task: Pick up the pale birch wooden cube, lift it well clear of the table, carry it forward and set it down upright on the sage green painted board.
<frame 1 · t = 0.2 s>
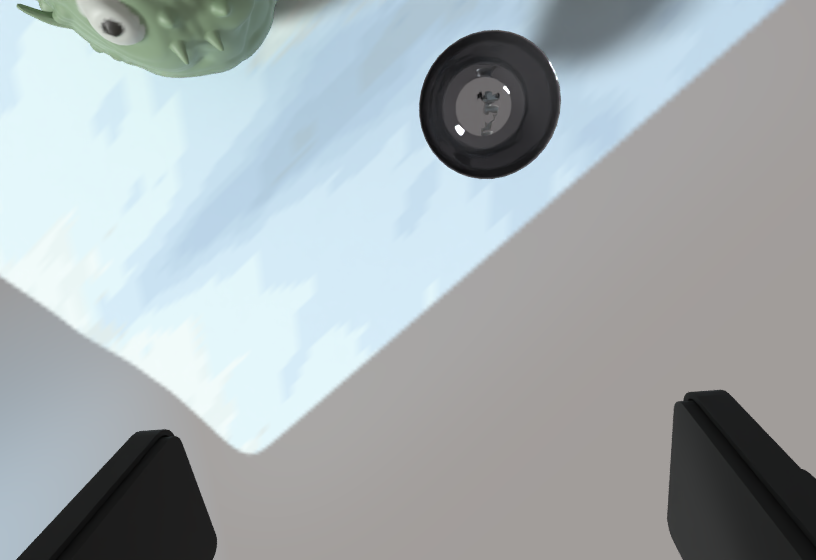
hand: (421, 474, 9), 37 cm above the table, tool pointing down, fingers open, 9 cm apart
wine glass: (474, 104, 41), on the table
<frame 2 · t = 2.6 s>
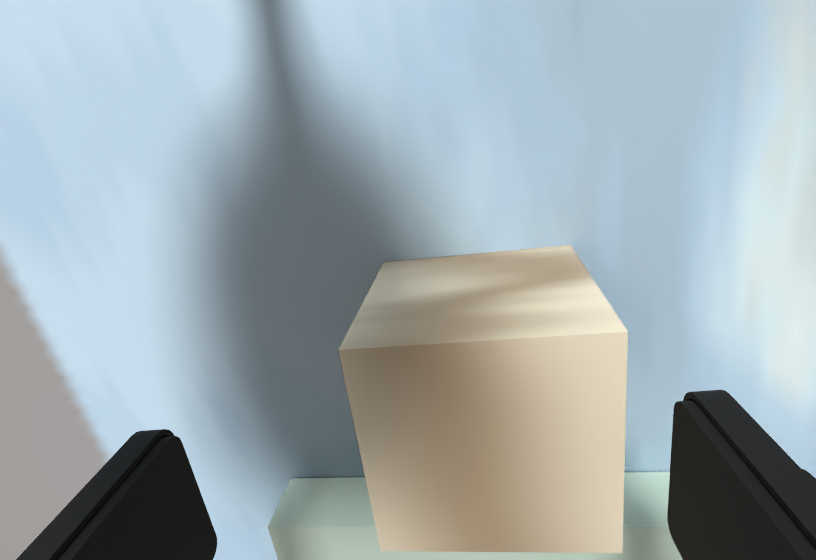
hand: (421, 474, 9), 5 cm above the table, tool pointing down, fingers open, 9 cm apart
birch cube: (481, 335, 14), on the table
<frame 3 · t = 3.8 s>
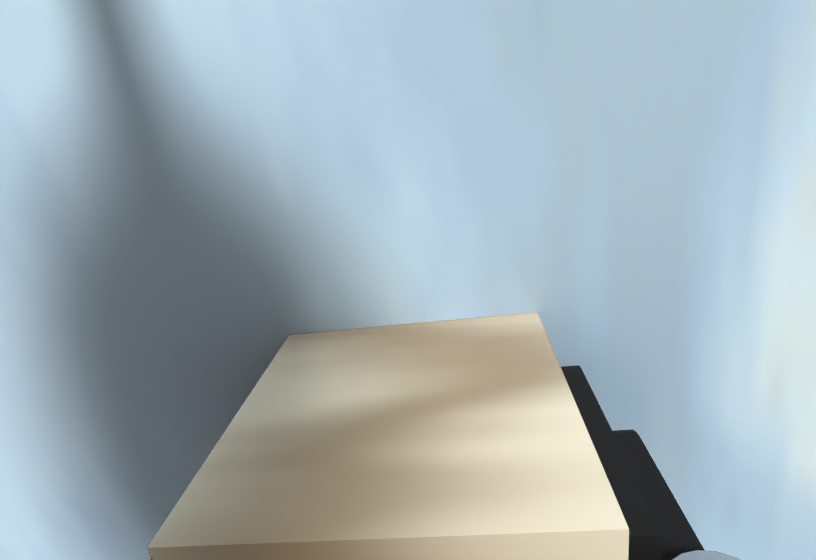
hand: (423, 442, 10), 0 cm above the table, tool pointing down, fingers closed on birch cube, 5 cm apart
birch cube: (425, 426, 10), on the table, touching gripper
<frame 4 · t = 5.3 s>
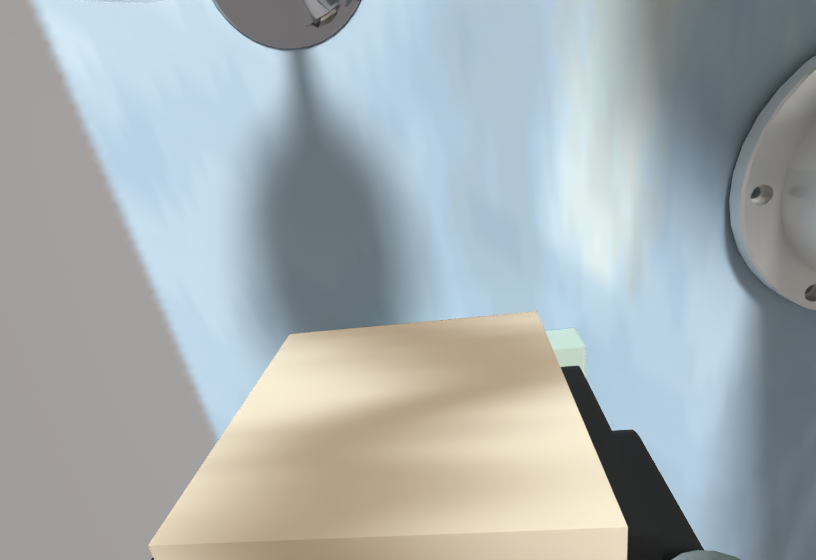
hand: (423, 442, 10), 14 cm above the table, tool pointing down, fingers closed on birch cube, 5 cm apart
sage board: (446, 421, 26), on the table
birch cube: (424, 426, 10), point 13 cm above the table, touching gripper
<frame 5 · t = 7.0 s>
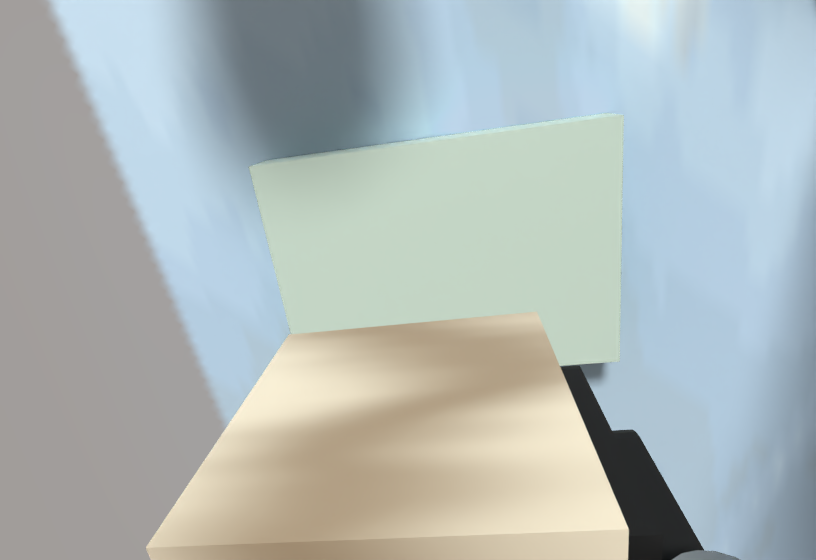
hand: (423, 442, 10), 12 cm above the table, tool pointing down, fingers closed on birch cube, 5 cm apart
sage board: (442, 253, 21), on the table
birch cube: (424, 426, 10), point 12 cm above the table, touching gripper
when the fingers open (4 cm above the table, at t = 9.2 s): birch cube drops 1 cm, resting on sage board.
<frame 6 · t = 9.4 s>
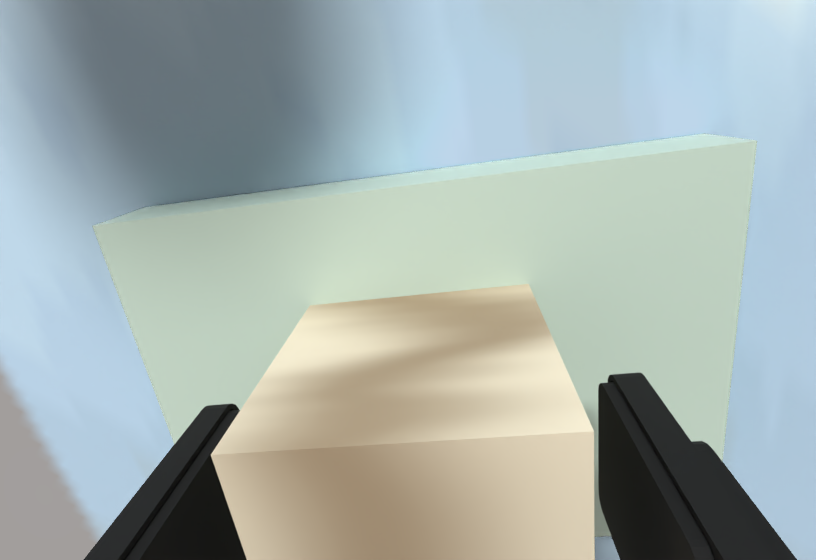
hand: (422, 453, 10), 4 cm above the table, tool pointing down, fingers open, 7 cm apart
sage board: (429, 350, 14), on the table
birch cube: (429, 389, 12), point 2 cm above the table, touching sage board
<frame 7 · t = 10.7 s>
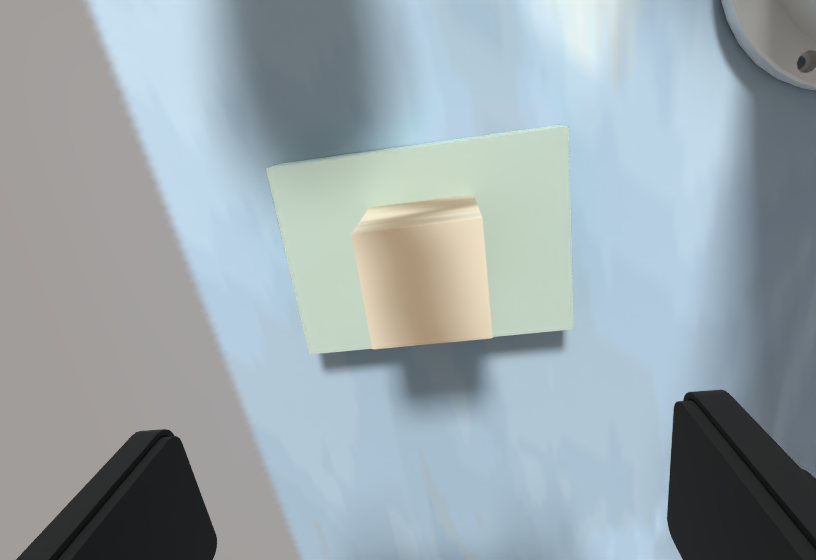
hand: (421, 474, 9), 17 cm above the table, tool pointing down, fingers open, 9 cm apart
sage board: (426, 241, 25), on the table
birch cube: (427, 251, 24), point 2 cm above the table, touching sage board
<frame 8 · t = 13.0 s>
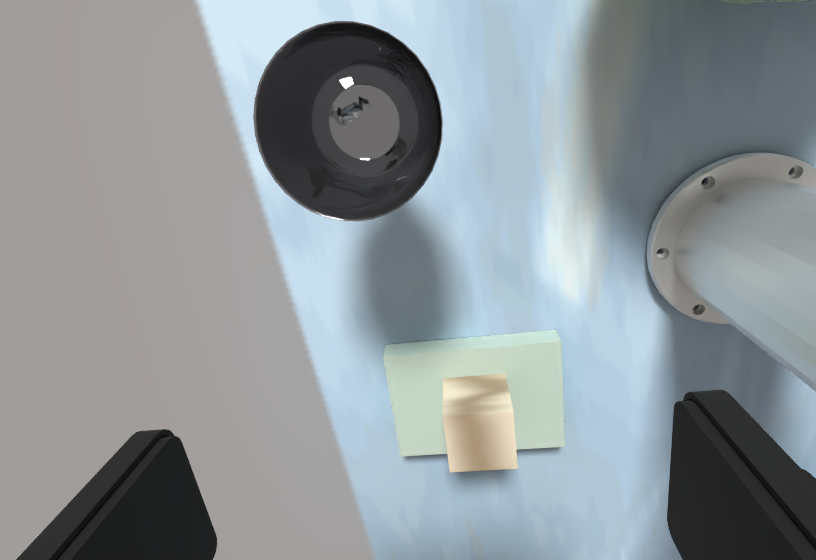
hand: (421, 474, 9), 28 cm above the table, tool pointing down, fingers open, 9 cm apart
sage board: (474, 388, 41), on the table
birch cube: (476, 402, 39), point 2 cm above the table, touching sage board
wine glass: (388, 115, 34), on the table
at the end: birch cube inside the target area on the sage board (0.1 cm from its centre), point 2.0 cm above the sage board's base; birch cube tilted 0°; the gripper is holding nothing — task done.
